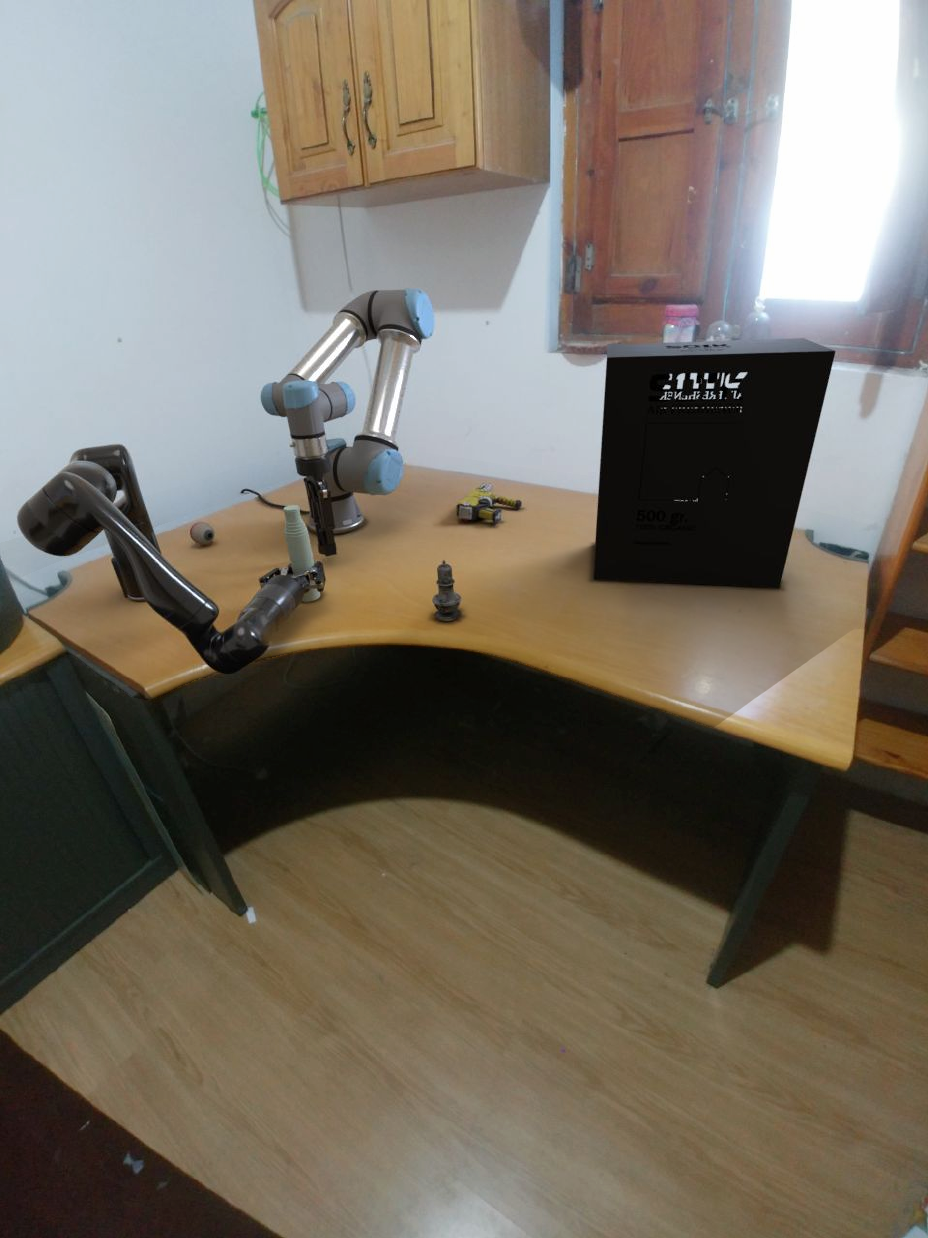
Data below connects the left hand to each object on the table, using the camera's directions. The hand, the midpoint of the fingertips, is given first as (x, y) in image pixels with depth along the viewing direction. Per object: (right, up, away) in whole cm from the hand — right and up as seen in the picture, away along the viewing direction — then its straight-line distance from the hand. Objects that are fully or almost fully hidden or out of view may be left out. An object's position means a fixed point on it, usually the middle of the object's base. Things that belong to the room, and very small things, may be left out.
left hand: (308, 564), depth 131 cm
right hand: (+1, +5, +15) cm, 16 cm away
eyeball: (-35, +8, +31) cm, 48 cm away
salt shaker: (+31, -11, -9) cm, 34 cm away
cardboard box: (+83, +1, +6) cm, 83 cm away
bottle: (0, -7, +1) cm, 7 cm away
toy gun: (+43, +19, +42) cm, 63 cm away
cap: (+1, +6, +14) cm, 15 cm away
